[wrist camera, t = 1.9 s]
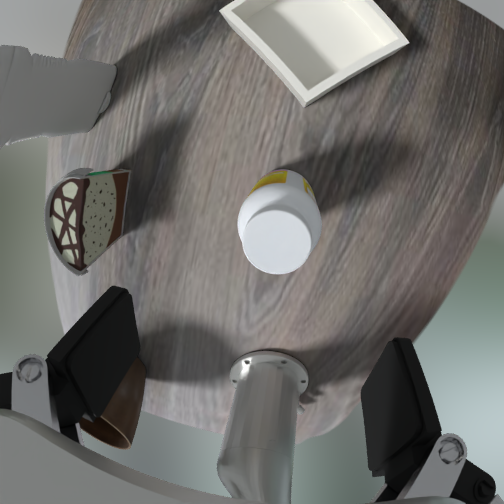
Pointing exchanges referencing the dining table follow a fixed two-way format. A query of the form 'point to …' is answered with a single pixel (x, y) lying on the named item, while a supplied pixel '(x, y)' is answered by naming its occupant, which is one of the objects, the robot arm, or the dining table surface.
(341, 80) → the box
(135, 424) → the plant pot
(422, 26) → the dining table surface
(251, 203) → the supplement bottle
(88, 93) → the tall pale column
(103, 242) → the food container
